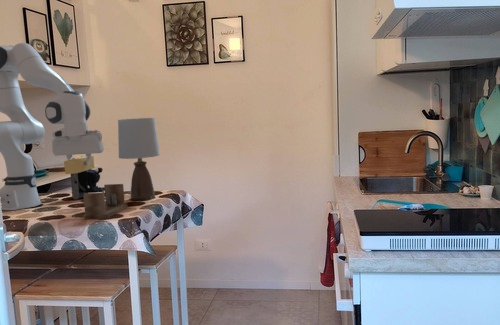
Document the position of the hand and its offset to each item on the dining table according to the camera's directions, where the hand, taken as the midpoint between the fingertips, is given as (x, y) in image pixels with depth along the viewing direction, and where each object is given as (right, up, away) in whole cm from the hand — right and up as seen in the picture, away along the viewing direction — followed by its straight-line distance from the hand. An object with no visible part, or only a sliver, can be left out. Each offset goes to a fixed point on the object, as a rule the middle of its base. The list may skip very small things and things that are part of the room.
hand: (79, 165), depth 189 cm
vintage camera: (-8, -16, +38) cm, 42 cm away
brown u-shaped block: (+10, -19, +2) cm, 22 cm away
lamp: (+18, -16, +31) cm, 39 cm away
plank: (0, -2, 0) cm, 2 cm away
